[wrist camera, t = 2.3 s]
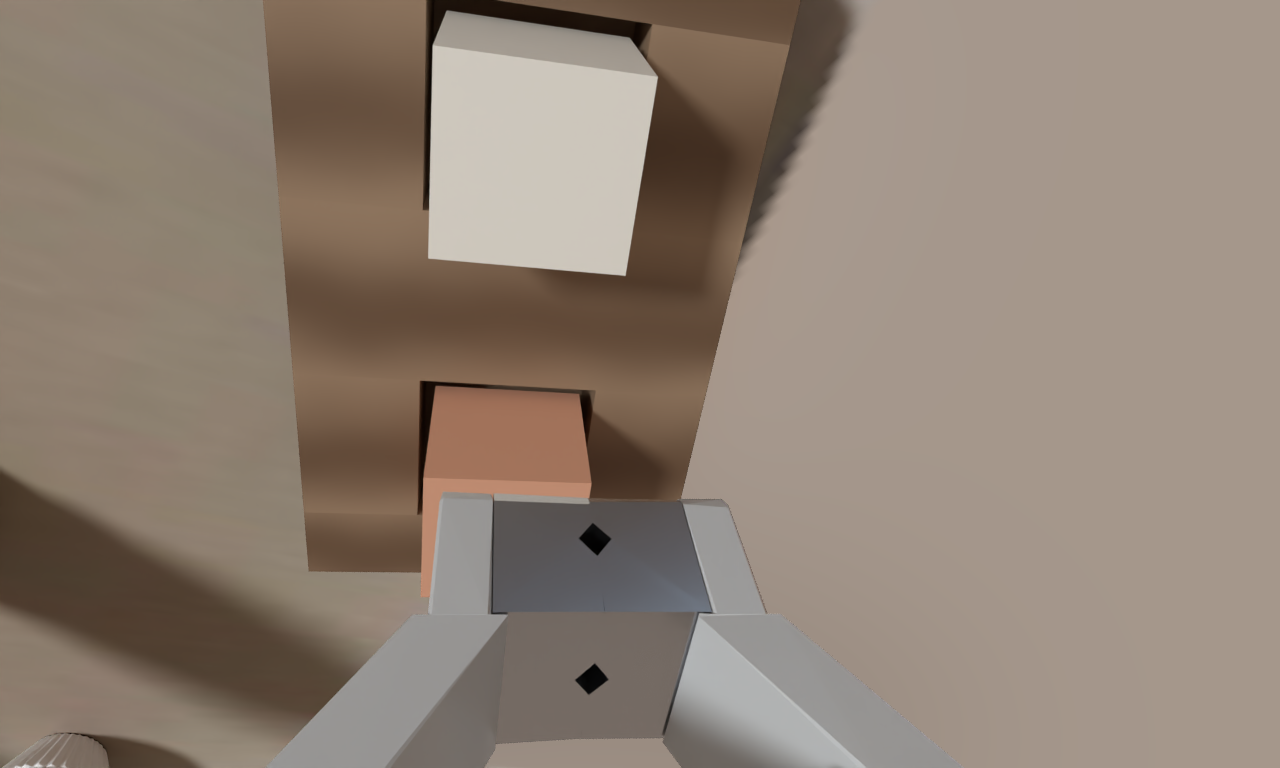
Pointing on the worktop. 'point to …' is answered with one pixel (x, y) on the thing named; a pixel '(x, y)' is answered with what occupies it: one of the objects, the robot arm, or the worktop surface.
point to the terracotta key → (500, 451)
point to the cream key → (536, 144)
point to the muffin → (62, 753)
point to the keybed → (488, 293)
